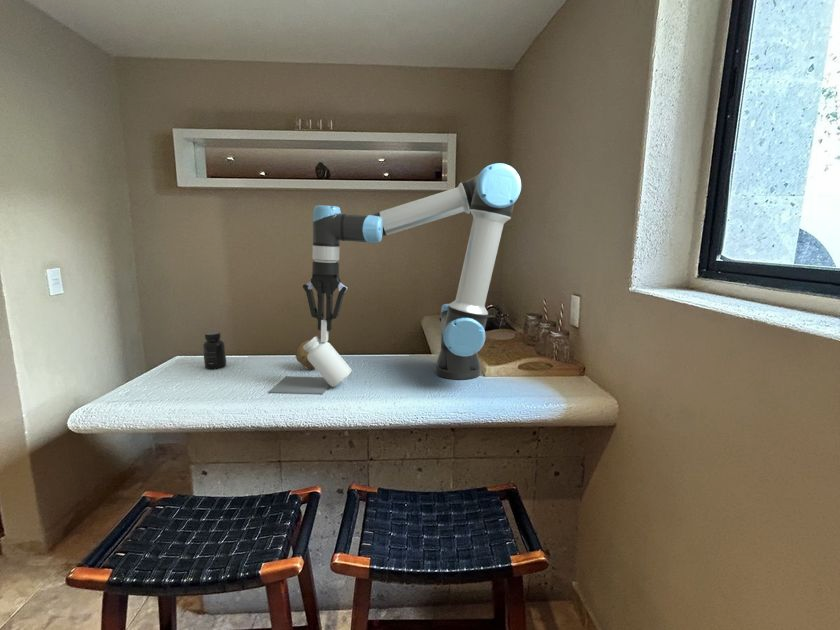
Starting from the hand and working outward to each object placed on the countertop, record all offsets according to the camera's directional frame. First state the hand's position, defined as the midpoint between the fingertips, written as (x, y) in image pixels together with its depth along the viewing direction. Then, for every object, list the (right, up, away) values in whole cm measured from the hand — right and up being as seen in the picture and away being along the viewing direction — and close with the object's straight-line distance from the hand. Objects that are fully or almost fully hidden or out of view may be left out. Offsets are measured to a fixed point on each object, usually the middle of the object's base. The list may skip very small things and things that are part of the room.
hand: (324, 341), depth 133 cm
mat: (-7, -14, +3) cm, 16 cm away
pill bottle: (+5, -12, +2) cm, 13 cm away
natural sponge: (-9, -11, +19) cm, 24 cm away
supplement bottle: (-42, -10, +22) cm, 48 cm away
